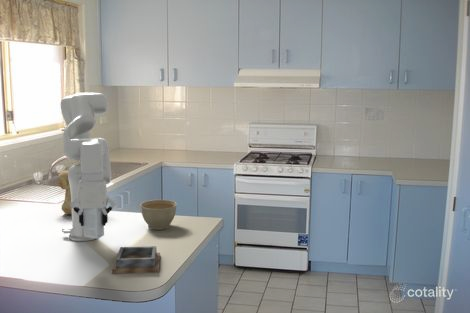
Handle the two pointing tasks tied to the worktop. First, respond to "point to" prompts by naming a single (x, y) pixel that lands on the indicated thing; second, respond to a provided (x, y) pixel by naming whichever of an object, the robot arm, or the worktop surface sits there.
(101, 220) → the skincare box
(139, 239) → the worktop surface
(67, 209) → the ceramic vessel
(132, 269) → the socket stand
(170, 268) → the worktop surface
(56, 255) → the worktop surface
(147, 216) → the planter bowl
